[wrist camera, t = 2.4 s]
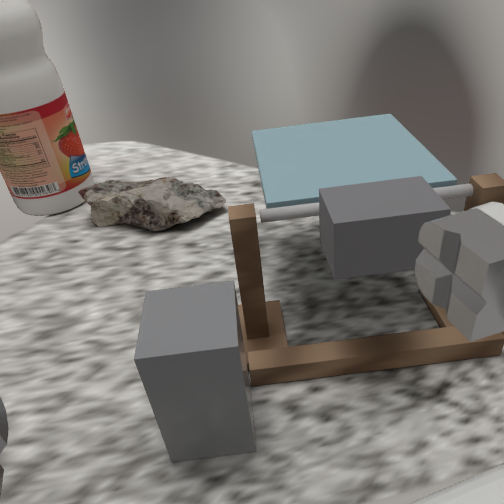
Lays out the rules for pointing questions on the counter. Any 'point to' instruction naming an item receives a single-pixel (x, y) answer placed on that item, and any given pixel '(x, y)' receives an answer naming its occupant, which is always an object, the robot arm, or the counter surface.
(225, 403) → the basalt block
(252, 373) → the post frame
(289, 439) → the counter surface
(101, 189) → the mineral rock
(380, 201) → the trapdoor
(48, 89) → the fruit juice
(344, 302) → the counter surface
